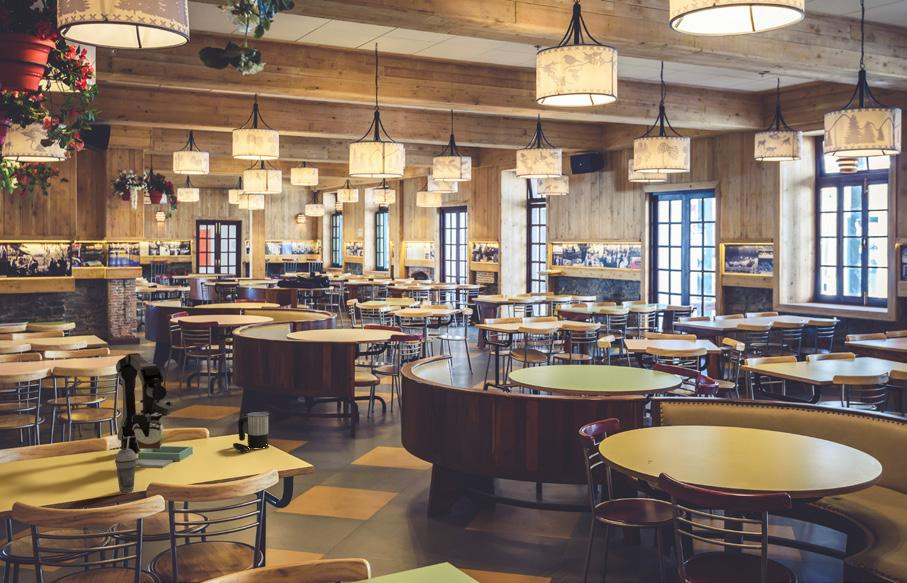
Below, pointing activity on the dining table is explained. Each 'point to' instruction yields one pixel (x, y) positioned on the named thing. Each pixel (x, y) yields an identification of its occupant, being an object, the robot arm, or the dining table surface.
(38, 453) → the dining table surface
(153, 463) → the slate tile
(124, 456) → the beverage cup
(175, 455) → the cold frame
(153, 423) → the food container
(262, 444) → the milk frother
